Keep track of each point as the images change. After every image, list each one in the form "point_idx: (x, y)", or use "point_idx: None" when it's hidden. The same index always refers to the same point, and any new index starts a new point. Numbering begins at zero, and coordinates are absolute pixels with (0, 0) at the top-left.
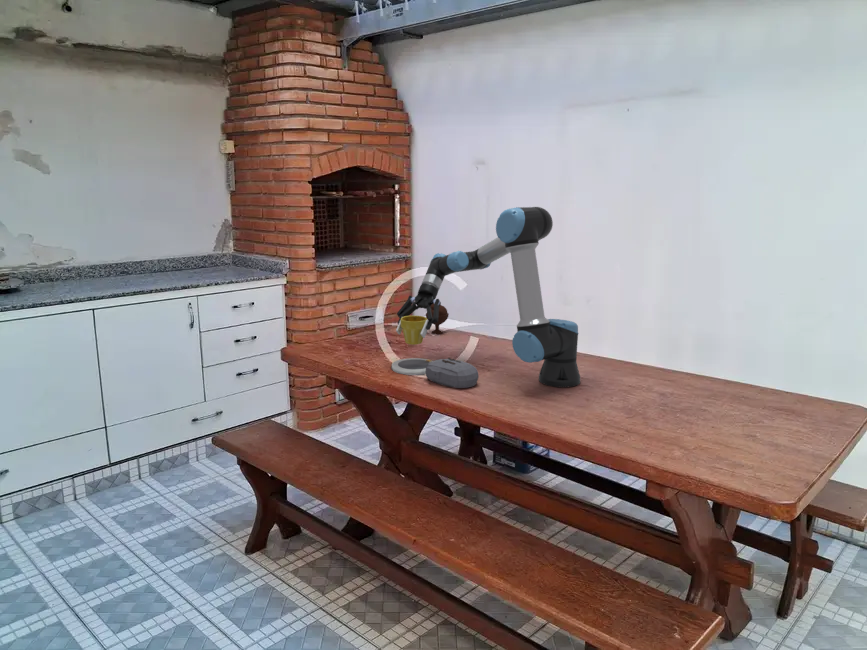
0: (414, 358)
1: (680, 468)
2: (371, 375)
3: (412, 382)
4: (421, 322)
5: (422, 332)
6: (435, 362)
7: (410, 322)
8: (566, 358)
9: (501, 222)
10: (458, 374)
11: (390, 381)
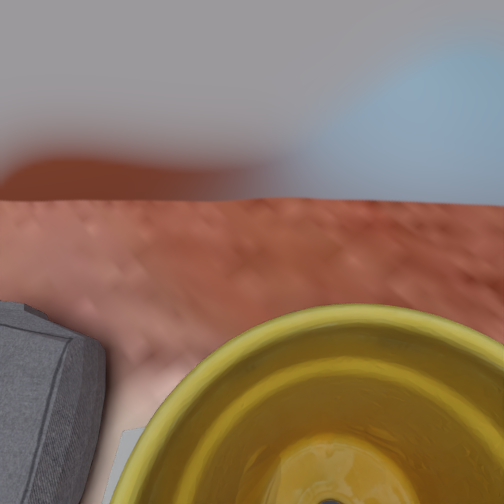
0: None
1: None
2: (385, 231)
3: (148, 279)
4: (116, 495)
5: (122, 450)
6: (7, 363)
7: (251, 329)
8: None
9: None
10: None
11: (245, 226)
